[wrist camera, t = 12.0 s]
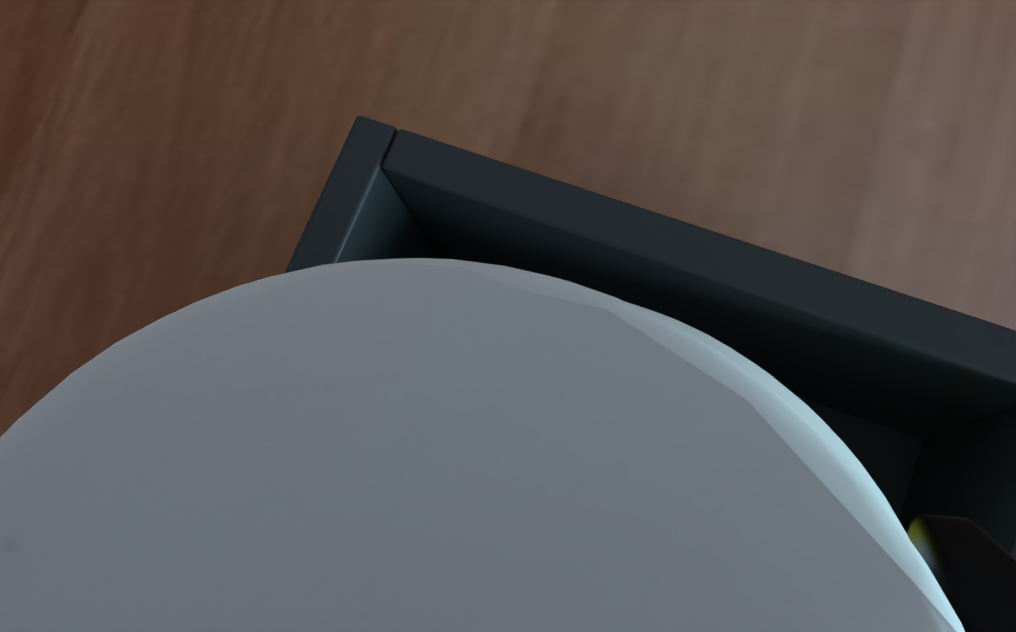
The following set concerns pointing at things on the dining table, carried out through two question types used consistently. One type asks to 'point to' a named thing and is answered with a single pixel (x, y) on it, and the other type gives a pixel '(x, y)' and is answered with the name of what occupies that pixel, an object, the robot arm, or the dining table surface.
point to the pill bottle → (440, 473)
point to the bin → (710, 309)
